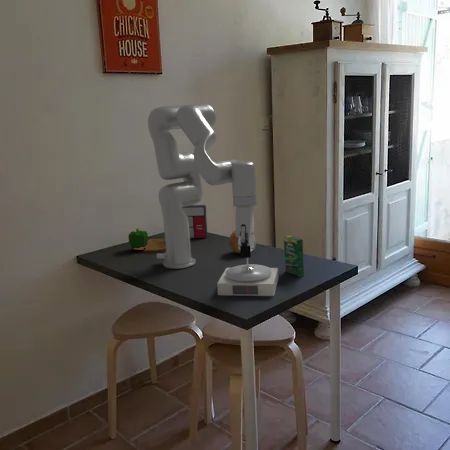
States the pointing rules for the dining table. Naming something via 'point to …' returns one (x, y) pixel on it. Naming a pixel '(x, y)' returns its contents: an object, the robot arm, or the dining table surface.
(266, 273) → the kitchen scale
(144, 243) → the bell pepper
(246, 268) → the wineglass
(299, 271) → the coffee box
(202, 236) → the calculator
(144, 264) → the dining table surface
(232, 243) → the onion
